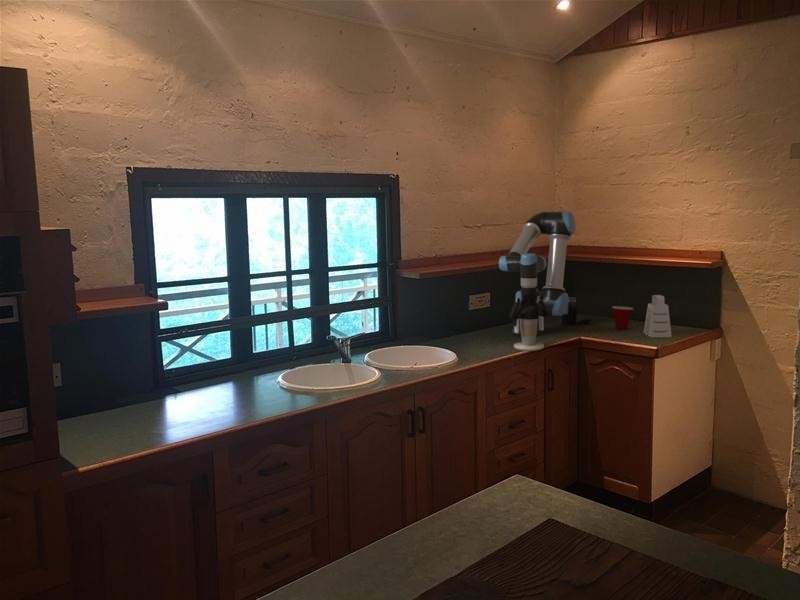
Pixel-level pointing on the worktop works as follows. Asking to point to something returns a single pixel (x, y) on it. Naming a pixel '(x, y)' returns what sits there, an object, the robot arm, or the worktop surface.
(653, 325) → the grater
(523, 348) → the saucer
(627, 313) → the plastic cup
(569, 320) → the milk frother
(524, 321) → the coffee cup
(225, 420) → the worktop surface
